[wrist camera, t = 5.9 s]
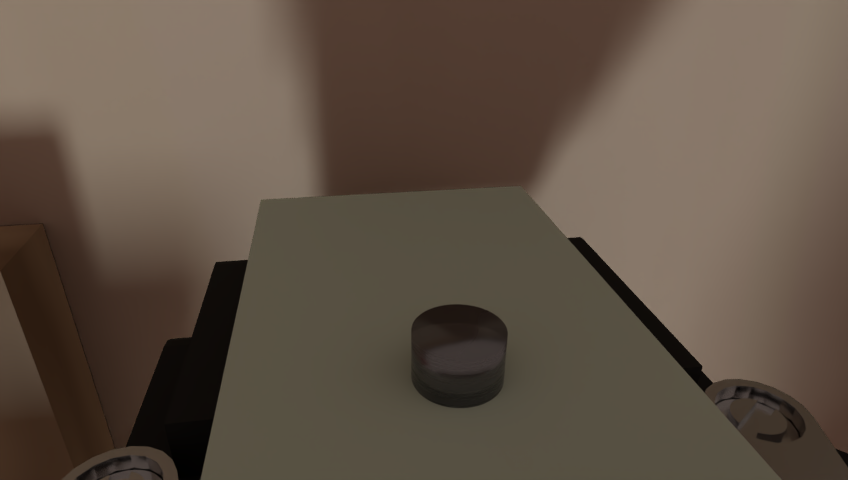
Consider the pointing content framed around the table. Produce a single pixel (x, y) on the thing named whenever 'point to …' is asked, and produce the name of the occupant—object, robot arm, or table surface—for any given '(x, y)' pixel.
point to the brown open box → (42, 367)
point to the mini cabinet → (449, 354)
